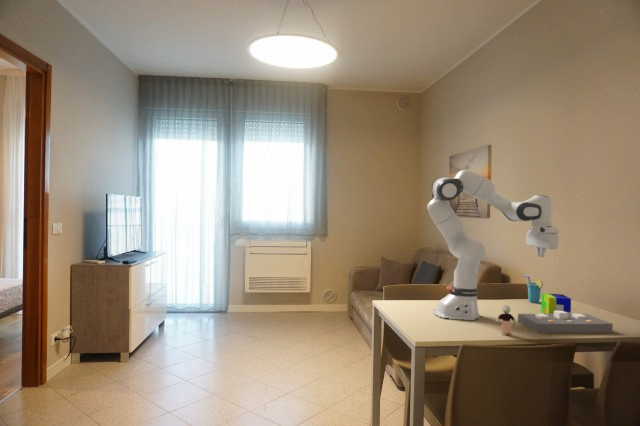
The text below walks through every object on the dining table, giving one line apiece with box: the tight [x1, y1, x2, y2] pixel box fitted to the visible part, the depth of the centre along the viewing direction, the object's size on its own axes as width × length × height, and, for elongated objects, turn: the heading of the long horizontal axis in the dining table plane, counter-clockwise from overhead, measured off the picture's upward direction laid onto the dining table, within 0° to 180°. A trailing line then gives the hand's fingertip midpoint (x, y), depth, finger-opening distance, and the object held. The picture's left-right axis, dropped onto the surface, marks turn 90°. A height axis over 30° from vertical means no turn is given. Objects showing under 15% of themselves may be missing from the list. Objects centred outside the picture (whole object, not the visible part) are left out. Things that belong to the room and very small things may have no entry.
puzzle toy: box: [541, 292, 572, 314], centre depth 201 cm, size 10×10×10 cm
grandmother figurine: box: [495, 304, 517, 336], centre depth 169 cm, size 8×4×13 cm, turn 92°
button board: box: [517, 313, 614, 334], centre depth 181 cm, size 34×16×4 cm, turn 93°
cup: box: [522, 274, 544, 304], centre depth 229 cm, size 14×8×15 cm, turn 24°
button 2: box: [571, 313, 586, 319], centre depth 183 cm, size 4×4×3 cm
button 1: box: [534, 313, 549, 319], centre depth 182 cm, size 4×4×3 cm
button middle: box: [554, 311, 568, 319], centre depth 183 cm, size 4×4×3 cm
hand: (540, 256), depth 192 cm, fingers closed
